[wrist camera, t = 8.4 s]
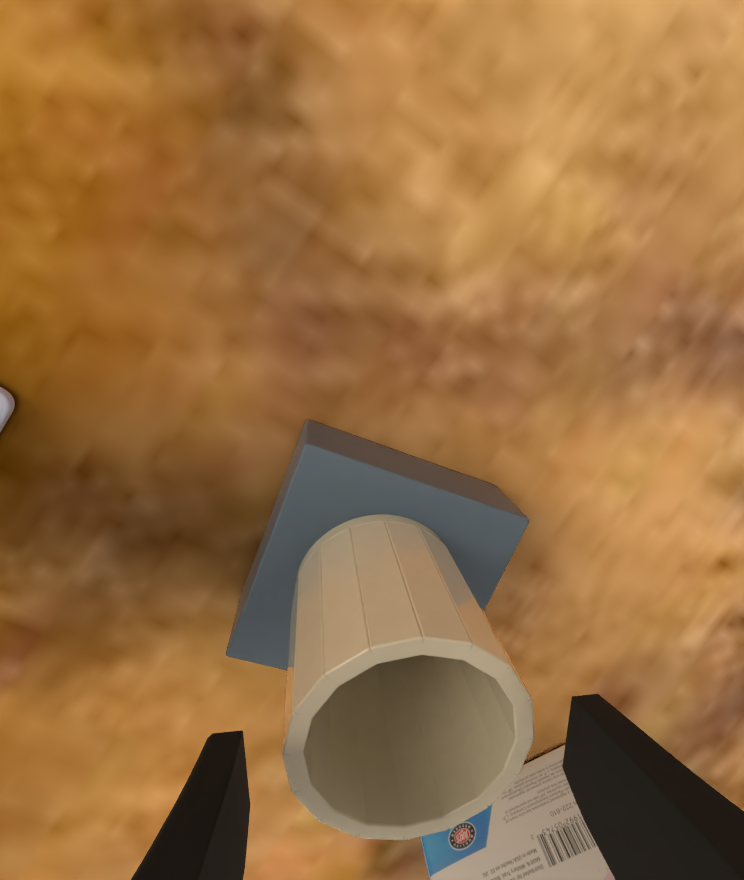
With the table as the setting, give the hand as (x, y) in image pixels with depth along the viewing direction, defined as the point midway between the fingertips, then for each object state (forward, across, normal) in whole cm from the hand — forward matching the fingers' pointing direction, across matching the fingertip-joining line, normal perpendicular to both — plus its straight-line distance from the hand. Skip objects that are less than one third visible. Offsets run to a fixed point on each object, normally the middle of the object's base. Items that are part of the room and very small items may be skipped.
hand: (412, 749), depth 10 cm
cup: (+6, 0, 0) cm, 6 cm away
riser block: (+9, 0, 0) cm, 9 cm away
